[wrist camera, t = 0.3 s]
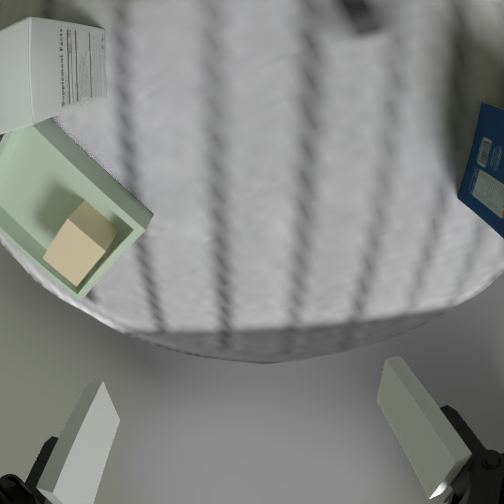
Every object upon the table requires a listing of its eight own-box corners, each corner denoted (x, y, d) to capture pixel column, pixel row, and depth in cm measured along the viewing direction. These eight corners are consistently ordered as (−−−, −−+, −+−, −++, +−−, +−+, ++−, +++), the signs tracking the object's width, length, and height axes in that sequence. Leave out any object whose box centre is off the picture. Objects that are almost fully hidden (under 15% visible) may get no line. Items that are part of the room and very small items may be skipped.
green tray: (35, 103, 28) (16, 109, 24) (153, 214, 37) (145, 230, 34) (-10, 195, 33) (-25, 207, 30) (89, 284, 43) (79, 301, 39)
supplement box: (45, 112, 28) (-37, 149, 16) (42, 45, 24) (-45, 53, 11) (108, 100, 29) (33, 127, 16) (107, 27, 24) (29, 13, 11)
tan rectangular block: (85, 199, 34) (67, 218, 30) (119, 229, 37) (105, 251, 33) (58, 237, 37) (42, 258, 33) (89, 264, 40) (76, 286, 35)
